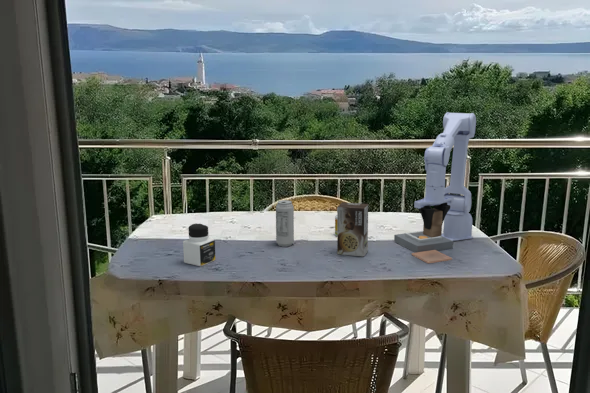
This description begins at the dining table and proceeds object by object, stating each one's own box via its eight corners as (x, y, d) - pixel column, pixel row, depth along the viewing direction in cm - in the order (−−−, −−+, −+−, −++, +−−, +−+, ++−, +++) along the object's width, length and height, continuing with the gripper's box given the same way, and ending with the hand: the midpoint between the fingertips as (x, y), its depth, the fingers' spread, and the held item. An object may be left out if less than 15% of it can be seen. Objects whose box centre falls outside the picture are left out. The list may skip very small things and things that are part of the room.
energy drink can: (297, 244, 195) (297, 201, 192) (285, 248, 191) (284, 204, 188) (284, 240, 199) (284, 199, 196) (272, 244, 195) (272, 202, 192)
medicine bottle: (200, 267, 174) (199, 229, 171) (183, 262, 177) (181, 225, 175) (216, 260, 180) (214, 223, 177) (198, 256, 183) (197, 220, 181)
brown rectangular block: (432, 232, 183) (433, 208, 181) (441, 235, 179) (442, 211, 177) (423, 234, 181) (424, 209, 179) (431, 237, 177) (433, 212, 176)
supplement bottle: (348, 237, 203) (349, 211, 200) (333, 237, 204) (334, 210, 201) (350, 233, 208) (351, 207, 206) (335, 232, 209) (336, 207, 207)
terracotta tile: (434, 251, 187) (434, 249, 187) (452, 259, 179) (452, 258, 179) (411, 254, 184) (411, 253, 184) (428, 263, 176) (428, 261, 176)
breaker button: (424, 242, 196) (424, 235, 195) (429, 244, 193) (429, 237, 193) (416, 243, 195) (416, 236, 194) (421, 245, 192) (422, 238, 192)
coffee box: (368, 251, 188) (369, 203, 184) (363, 257, 182) (365, 208, 178) (341, 248, 191) (342, 201, 187) (336, 254, 185) (336, 206, 181)
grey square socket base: (427, 237, 203) (428, 227, 202) (452, 248, 190) (453, 238, 190) (394, 241, 198) (394, 231, 197) (417, 253, 185) (417, 243, 184)
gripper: (443, 180, 183) (441, 221, 186) (408, 185, 176) (406, 227, 179) (459, 184, 177) (457, 226, 180) (424, 189, 170) (422, 233, 173)
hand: (433, 227), depth 179 cm, fingers closed on brown rectangular block, 4 cm apart
